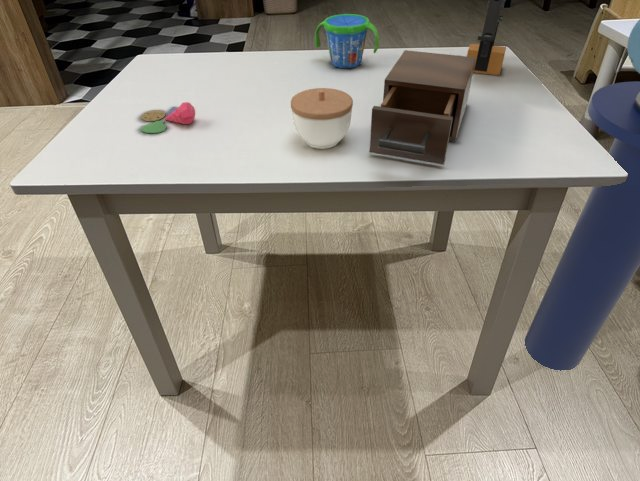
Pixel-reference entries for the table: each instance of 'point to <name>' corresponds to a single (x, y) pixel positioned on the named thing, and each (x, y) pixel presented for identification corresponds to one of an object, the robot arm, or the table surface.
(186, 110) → the toy pieces
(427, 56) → the cabinet
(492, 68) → the tan wooden block
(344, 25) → the snack cup
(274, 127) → the table surface
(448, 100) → the drawer
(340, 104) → the trinket box
